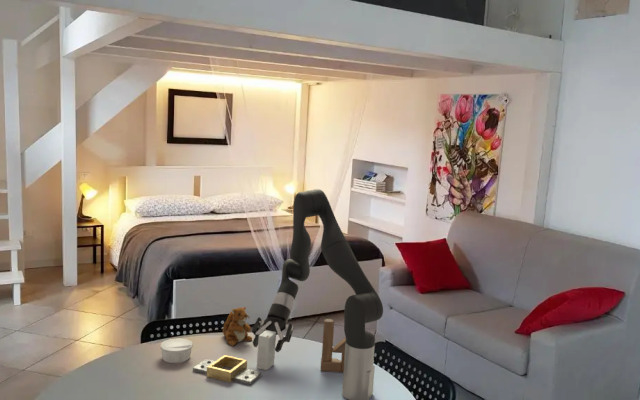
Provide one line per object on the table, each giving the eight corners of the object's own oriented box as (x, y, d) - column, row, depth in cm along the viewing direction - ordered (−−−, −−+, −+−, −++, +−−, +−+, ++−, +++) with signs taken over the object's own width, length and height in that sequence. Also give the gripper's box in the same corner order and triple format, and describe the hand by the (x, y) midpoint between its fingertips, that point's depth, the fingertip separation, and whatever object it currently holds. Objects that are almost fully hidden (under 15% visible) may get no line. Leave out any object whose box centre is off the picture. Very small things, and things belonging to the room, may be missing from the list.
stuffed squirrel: (232, 347, 206) (234, 313, 204) (214, 335, 217) (216, 303, 215) (255, 342, 212) (256, 309, 211) (236, 330, 223) (238, 299, 222)
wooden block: (351, 373, 190) (354, 323, 187) (320, 371, 190) (323, 321, 187) (350, 368, 193) (354, 320, 191) (320, 367, 193) (323, 318, 191)
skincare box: (263, 361, 195) (265, 329, 193) (275, 364, 193) (276, 331, 192) (255, 368, 189) (257, 335, 188) (267, 371, 188) (269, 337, 186)
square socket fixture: (263, 373, 185) (264, 363, 185) (248, 387, 175) (248, 376, 175) (208, 360, 193) (208, 351, 193) (190, 372, 183) (190, 362, 182)
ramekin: (175, 367, 186) (176, 353, 185) (153, 359, 192) (153, 344, 191) (199, 357, 196) (199, 343, 195) (176, 349, 201) (177, 335, 201)
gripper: (261, 299, 199) (244, 340, 189) (296, 306, 194) (281, 348, 184) (266, 309, 204) (250, 349, 195) (301, 316, 199) (287, 357, 190)
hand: (265, 348), depth 190 cm, fingers open, 8 cm apart
